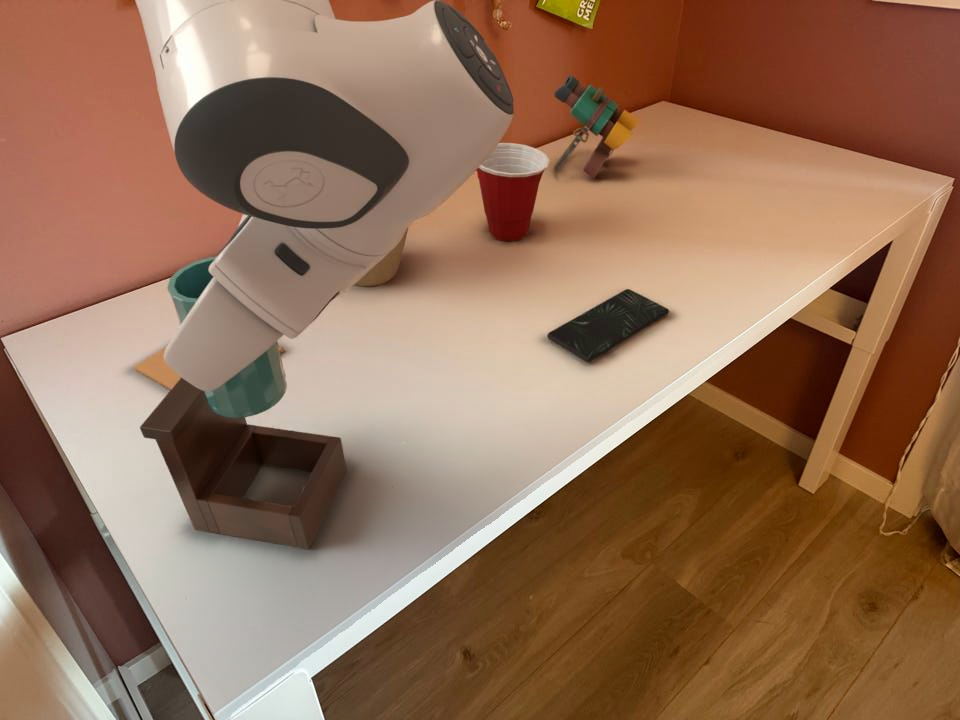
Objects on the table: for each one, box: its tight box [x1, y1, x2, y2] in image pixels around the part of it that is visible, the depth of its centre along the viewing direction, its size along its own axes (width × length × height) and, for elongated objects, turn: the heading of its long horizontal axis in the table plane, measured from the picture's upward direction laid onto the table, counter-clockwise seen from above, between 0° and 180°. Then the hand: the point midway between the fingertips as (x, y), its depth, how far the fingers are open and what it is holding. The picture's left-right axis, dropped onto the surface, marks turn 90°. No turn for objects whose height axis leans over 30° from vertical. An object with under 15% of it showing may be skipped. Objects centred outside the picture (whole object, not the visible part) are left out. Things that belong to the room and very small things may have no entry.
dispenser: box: [139, 377, 348, 550], centre depth 64 cm, size 12×10×13 cm
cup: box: [166, 256, 288, 418], centre depth 56 cm, size 6×6×11 cm
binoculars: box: [552, 74, 641, 179], centre depth 120 cm, size 14×14×15 cm
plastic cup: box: [476, 142, 550, 242], centre depth 103 cm, size 11×11×12 cm
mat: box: [133, 346, 284, 391], centre depth 84 cm, size 12×12×1 cm
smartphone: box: [547, 288, 670, 364], centre depth 87 cm, size 7×1×15 cm
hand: (221, 328), depth 55 cm, fingers closed on cup, 6 cm apart
